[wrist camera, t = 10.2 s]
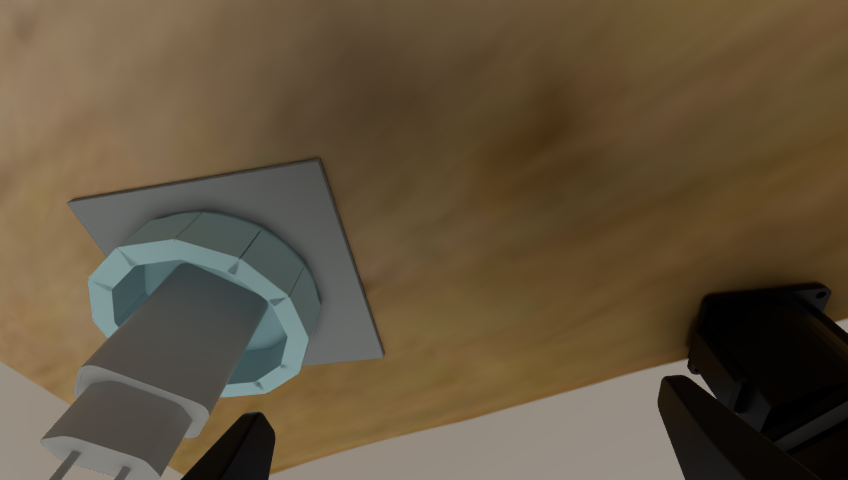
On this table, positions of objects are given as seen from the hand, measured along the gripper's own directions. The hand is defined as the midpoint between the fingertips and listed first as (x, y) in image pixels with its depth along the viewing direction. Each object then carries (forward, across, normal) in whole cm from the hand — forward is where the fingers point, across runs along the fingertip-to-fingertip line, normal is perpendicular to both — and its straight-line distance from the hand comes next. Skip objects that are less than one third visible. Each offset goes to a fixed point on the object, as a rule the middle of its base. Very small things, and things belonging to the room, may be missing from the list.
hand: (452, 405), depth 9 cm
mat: (+13, +13, +5) cm, 19 cm away
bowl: (+13, +14, +5) cm, 19 cm away
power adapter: (+12, +14, +5) cm, 19 cm away
